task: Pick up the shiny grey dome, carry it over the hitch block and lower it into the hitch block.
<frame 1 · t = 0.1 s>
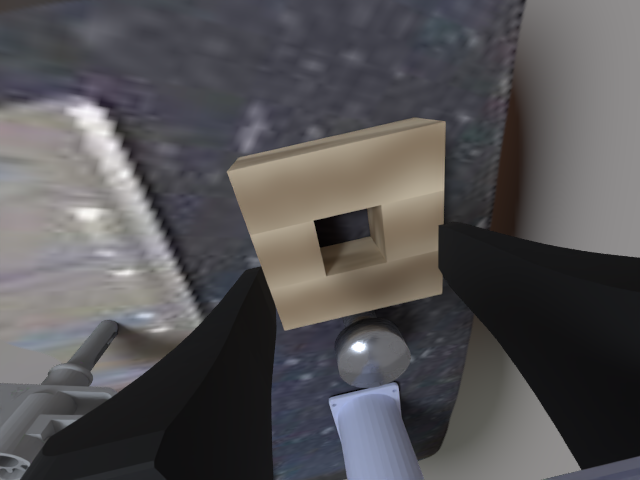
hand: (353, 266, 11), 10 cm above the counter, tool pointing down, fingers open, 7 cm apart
hitch block: (341, 218, 21), on the counter
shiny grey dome: (357, 314, 25), on the counter
mechanical component: (110, 325, 23), on the counter
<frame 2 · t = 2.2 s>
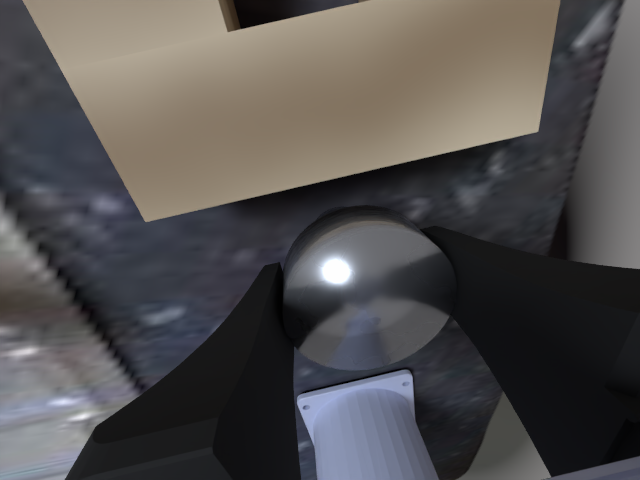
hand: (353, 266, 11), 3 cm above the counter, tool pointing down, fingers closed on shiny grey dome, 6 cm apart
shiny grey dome: (340, 235, 13), on the counter, touching gripper
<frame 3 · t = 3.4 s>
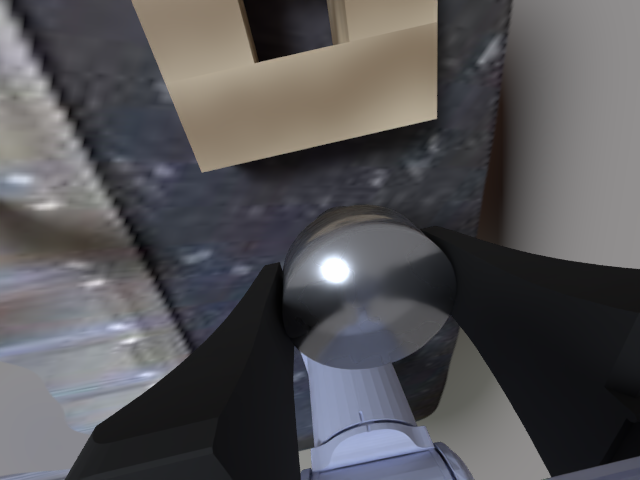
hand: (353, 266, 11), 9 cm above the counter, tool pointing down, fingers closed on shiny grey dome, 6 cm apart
hitch block: (288, 17, 14), on the counter
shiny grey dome: (340, 234, 13), point 6 cm above the counter, touching gripper
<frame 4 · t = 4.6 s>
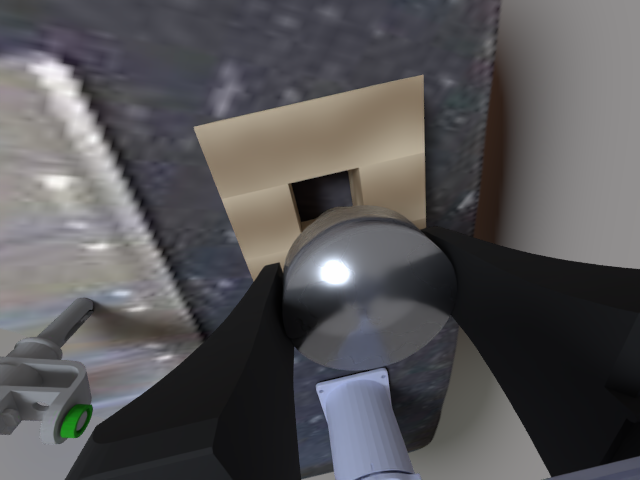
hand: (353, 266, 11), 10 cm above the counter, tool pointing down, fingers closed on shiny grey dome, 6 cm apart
hitch block: (322, 190, 20), on the counter
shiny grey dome: (340, 235, 13), point 8 cm above the counter, touching gripper
mechanical component: (86, 303, 22), on the counter
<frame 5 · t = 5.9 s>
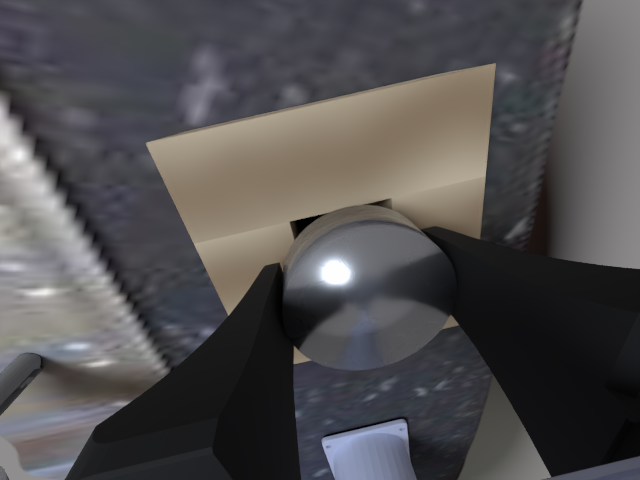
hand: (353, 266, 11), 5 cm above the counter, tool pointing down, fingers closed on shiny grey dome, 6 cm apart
hitch block: (333, 219, 15), on the counter
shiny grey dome: (340, 234, 13), point 2 cm above the counter, touching gripper
mechanical component: (33, 359, 18), on the counter
when the fingers open (5 cm above the counter, at t = 6.9 s): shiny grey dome drops 1 cm, resting on hitch block.
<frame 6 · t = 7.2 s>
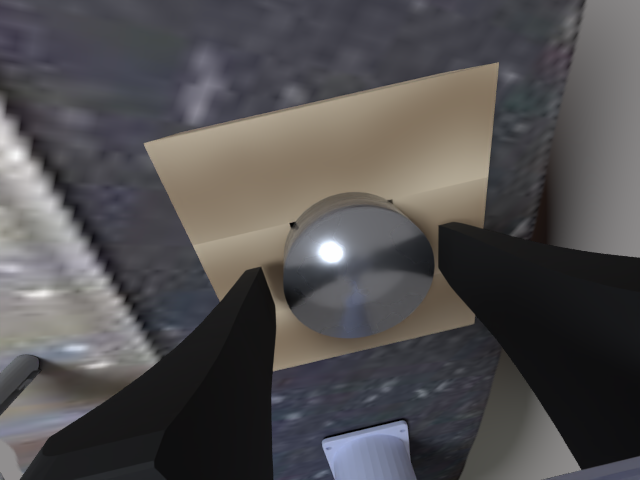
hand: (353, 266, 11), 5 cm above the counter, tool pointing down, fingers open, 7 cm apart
hitch block: (334, 219, 15), on the counter
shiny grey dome: (335, 223, 15), resting on hitch block
mechanical component: (31, 360, 18), on the counter
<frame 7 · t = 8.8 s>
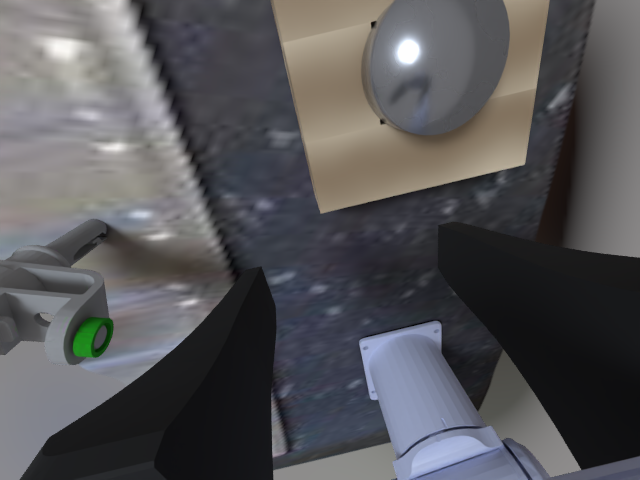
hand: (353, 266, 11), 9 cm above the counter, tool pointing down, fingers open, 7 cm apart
hitch block: (390, 74, 16), on the counter
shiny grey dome: (393, 73, 16), resting on hitch block
mechanical component: (98, 228, 19), on the counter
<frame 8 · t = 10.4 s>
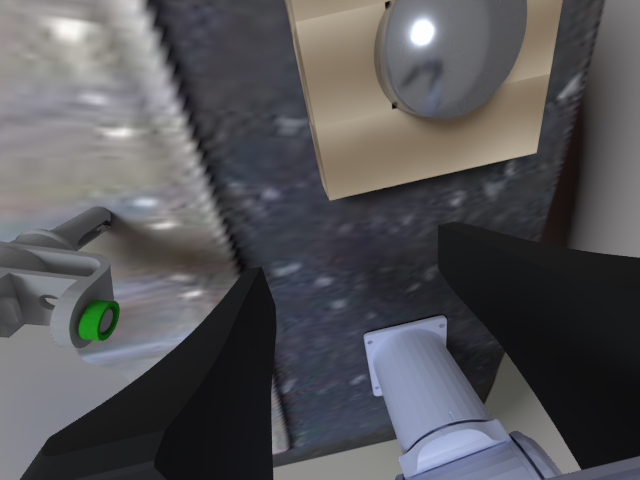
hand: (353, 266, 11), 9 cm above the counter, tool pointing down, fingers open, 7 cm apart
hitch block: (400, 61, 16), on the counter
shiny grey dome: (403, 59, 16), resting on hitch block
mechanical component: (102, 216, 18), on the counter
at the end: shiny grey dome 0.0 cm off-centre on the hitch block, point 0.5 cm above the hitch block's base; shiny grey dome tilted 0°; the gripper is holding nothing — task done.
